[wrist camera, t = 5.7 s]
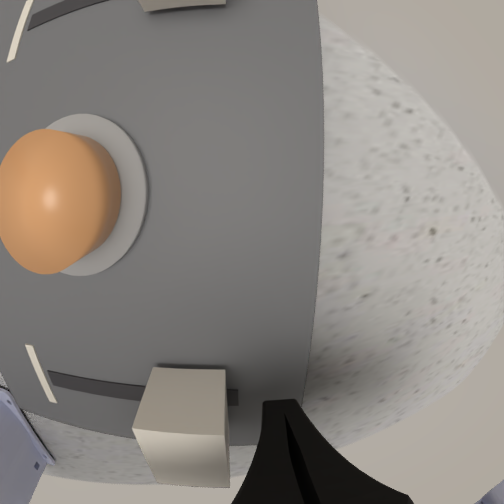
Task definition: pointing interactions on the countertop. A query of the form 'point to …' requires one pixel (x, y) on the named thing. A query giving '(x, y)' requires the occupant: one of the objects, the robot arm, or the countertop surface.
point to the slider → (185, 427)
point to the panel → (170, 203)
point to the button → (56, 199)
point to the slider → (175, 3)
